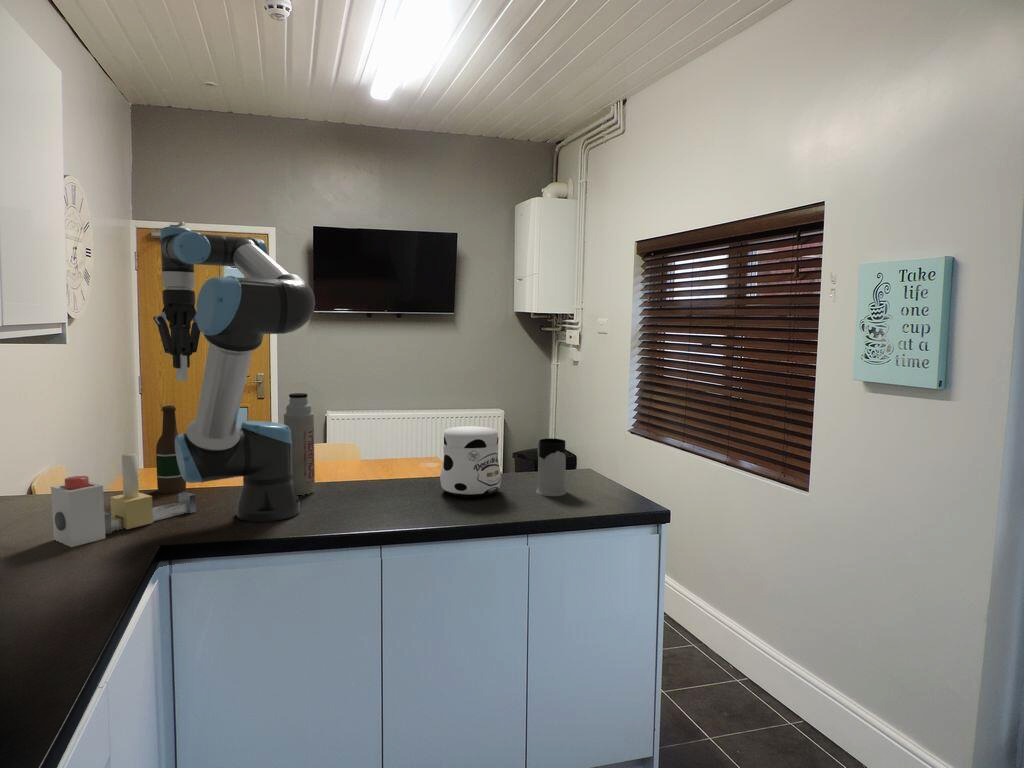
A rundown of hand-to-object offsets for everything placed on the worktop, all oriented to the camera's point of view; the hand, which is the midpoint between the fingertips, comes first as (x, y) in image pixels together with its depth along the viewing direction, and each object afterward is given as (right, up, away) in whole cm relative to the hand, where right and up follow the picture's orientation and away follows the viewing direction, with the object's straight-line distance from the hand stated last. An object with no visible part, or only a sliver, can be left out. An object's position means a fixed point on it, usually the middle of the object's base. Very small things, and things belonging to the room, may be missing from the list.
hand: (182, 380), depth 177 cm
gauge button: (-10, -26, -28) cm, 39 cm away
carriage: (-4, -34, -16) cm, 38 cm away
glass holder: (+96, -32, +21) cm, 104 cm away
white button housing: (-10, -35, -27) cm, 45 cm away
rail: (-2, -34, -13) cm, 36 cm away
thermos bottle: (+26, -32, +15) cm, 44 cm away
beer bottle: (-10, -31, +15) cm, 36 cm away
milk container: (+74, -32, +17) cm, 83 cm away
